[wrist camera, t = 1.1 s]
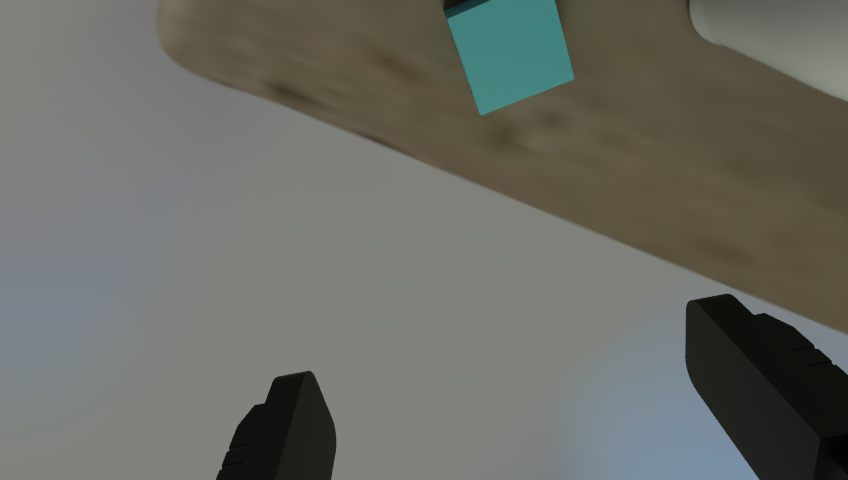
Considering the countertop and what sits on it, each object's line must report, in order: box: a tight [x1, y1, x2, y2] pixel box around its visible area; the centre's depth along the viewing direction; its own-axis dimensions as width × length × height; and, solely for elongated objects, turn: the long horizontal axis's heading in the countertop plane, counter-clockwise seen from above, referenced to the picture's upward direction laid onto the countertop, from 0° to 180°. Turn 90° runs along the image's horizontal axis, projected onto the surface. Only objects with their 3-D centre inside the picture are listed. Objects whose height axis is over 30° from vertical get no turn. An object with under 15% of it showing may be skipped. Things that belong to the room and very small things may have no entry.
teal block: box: [444, 0, 574, 115], centre depth 27 cm, size 5×5×5 cm
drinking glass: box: [689, 0, 848, 102], centre depth 21 cm, size 7×7×15 cm
